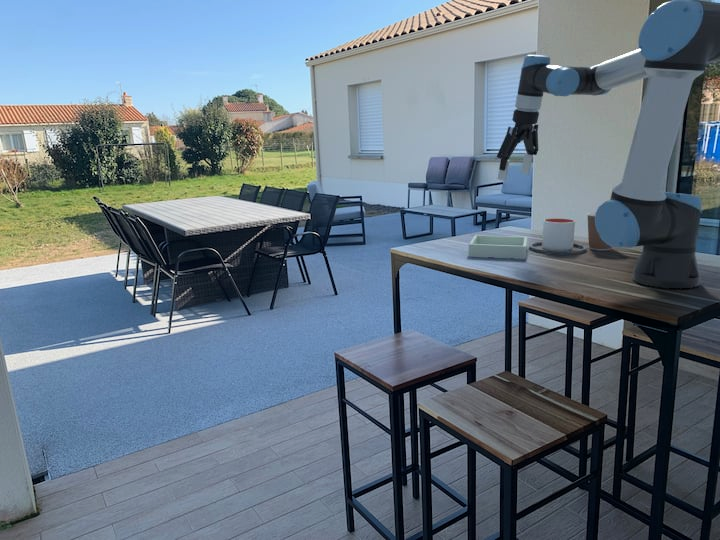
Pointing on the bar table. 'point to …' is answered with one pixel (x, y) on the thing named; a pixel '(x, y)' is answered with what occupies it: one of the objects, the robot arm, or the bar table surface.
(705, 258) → the bar table surface
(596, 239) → the coffee cup
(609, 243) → the robot arm
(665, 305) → the bar table surface
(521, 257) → the bin
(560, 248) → the cup
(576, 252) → the socket ring
